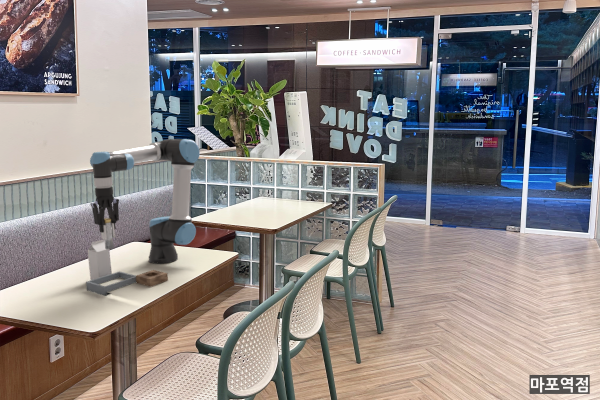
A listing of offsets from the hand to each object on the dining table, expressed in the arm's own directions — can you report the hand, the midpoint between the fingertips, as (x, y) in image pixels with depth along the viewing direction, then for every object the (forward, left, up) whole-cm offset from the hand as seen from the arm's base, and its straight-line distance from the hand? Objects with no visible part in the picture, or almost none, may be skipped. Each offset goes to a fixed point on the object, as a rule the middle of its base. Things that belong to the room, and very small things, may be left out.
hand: (108, 237), depth 245 cm
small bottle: (0, 0, -5) cm, 5 cm away
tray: (0, 0, -23) cm, 23 cm away
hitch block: (-12, +13, -23) cm, 29 cm away
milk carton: (-4, -15, -24) cm, 28 cm away
